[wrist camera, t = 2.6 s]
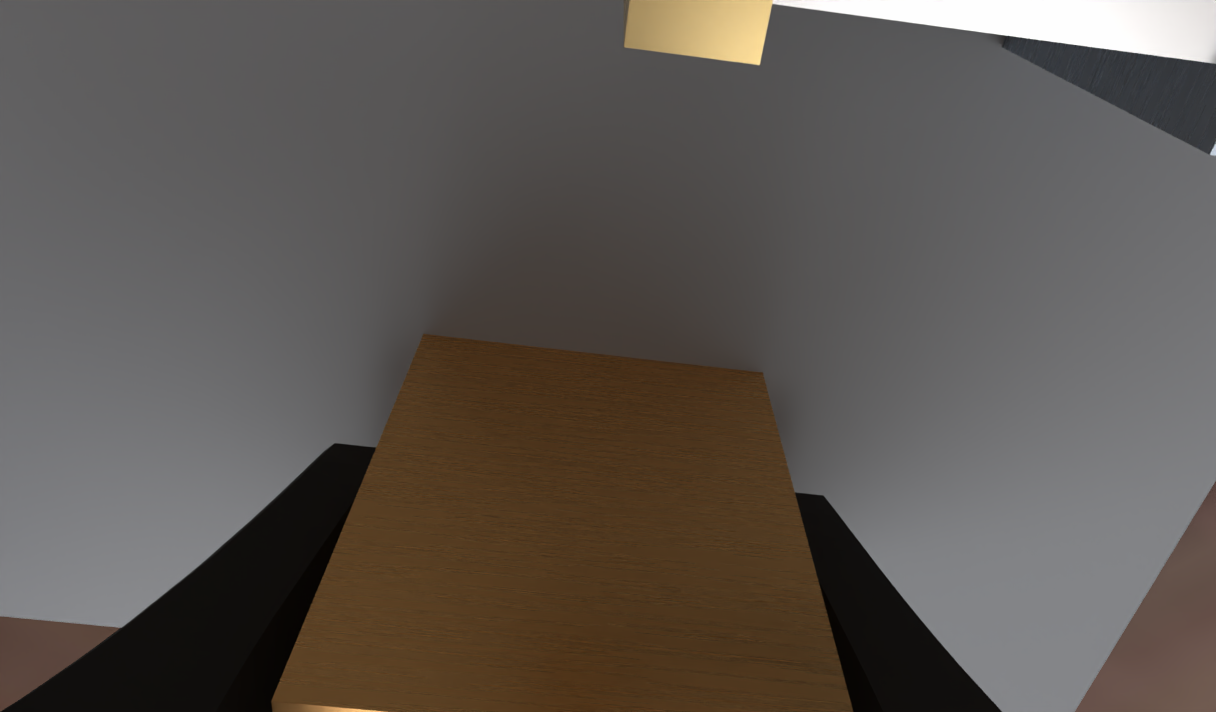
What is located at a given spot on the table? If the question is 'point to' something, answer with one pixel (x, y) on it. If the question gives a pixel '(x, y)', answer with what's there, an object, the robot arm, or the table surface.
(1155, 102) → the shaft rig
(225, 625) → the robot arm
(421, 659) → the brown square block
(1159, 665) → the table surface
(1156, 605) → the table surface
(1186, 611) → the table surface
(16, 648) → the table surface
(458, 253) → the base board
